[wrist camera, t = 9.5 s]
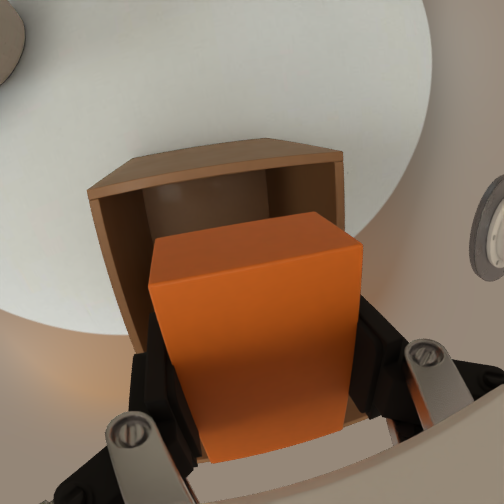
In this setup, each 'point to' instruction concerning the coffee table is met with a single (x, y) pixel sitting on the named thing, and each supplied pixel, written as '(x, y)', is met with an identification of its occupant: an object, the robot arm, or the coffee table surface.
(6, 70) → the potted plant
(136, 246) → the carton
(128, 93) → the coffee table surface
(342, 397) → the block
